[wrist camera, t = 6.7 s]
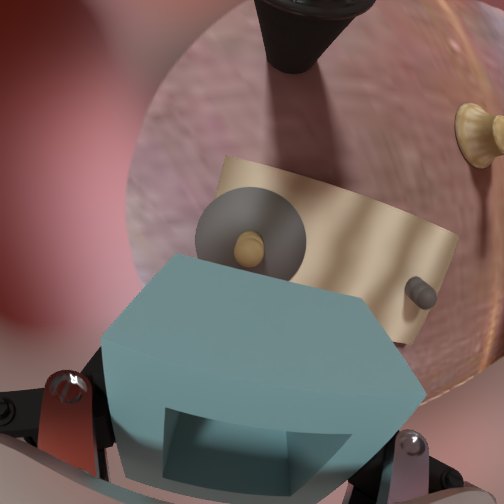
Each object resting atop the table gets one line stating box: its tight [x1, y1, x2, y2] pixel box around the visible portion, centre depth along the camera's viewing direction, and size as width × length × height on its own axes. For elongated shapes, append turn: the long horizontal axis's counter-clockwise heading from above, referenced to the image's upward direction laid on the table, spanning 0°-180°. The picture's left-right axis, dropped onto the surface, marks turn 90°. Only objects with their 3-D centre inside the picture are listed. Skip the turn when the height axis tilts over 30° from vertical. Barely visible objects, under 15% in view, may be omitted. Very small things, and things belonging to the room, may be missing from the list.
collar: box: [101, 253, 427, 504], centre depth 8 cm, size 7×7×5 cm
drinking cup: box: [254, 0, 376, 74], centre depth 11 cm, size 8×8×20 cm
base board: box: [195, 156, 459, 344], centre depth 24 cm, size 27×14×6 cm, turn 75°
